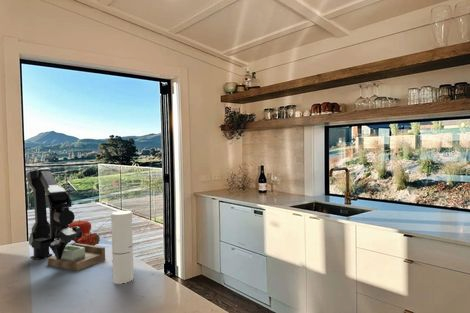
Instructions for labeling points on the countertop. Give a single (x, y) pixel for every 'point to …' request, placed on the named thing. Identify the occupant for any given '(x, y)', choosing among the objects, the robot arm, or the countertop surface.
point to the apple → (81, 227)
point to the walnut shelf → (91, 257)
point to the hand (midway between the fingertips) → (59, 259)
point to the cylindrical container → (122, 246)
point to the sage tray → (73, 253)
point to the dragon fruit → (89, 239)
